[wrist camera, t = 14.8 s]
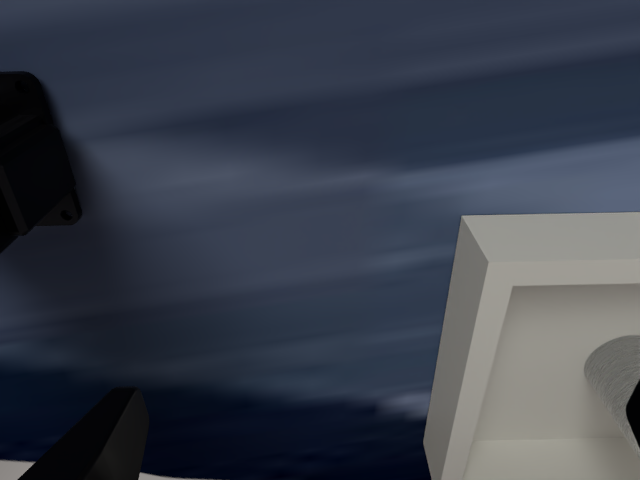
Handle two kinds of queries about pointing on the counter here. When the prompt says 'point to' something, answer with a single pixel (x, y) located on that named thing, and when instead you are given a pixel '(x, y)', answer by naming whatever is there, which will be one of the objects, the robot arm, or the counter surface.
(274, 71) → the counter surface
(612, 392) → the metal pin
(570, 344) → the tray
